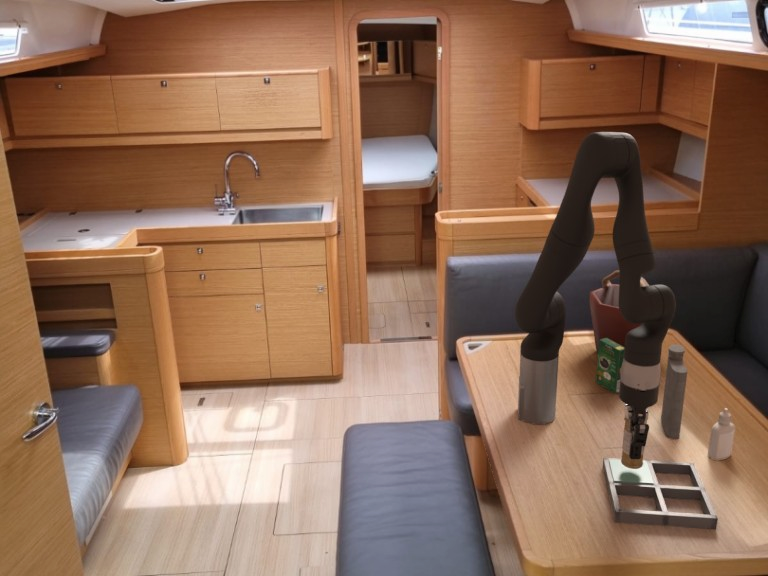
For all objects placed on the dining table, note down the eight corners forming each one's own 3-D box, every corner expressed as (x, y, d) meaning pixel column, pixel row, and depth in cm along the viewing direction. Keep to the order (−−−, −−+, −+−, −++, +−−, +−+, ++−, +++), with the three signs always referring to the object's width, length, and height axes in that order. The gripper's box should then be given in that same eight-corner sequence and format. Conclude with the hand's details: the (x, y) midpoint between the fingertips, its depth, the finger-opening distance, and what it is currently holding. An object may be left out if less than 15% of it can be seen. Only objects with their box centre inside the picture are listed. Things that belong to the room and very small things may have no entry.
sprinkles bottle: (635, 456, 157) (641, 401, 153) (647, 468, 153) (653, 411, 148) (616, 459, 156) (621, 404, 152) (627, 471, 152) (632, 414, 147)
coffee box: (624, 392, 193) (628, 347, 189) (615, 395, 192) (619, 350, 188) (603, 380, 200) (606, 336, 196) (594, 382, 199) (598, 339, 194)
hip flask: (679, 440, 171) (689, 363, 164) (661, 437, 172) (670, 361, 165) (676, 407, 185) (684, 335, 178) (659, 405, 186) (667, 334, 179)
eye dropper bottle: (735, 460, 162) (743, 413, 158) (710, 461, 162) (717, 414, 158) (727, 450, 166) (734, 403, 162) (702, 450, 166) (709, 404, 162)
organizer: (614, 522, 144) (615, 510, 143) (602, 467, 161) (603, 456, 160) (716, 529, 141) (718, 517, 140) (692, 472, 159) (693, 461, 158)
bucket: (580, 339, 226) (585, 263, 218) (652, 338, 225) (660, 261, 217) (600, 374, 203) (606, 291, 195) (680, 373, 202) (690, 289, 194)
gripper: (615, 363, 155) (609, 433, 161) (626, 395, 142) (619, 470, 147) (652, 364, 154) (645, 434, 160) (666, 396, 140) (658, 472, 146)
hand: (632, 451), depth 153 cm, fingers closed on sprinkles bottle, 4 cm apart
